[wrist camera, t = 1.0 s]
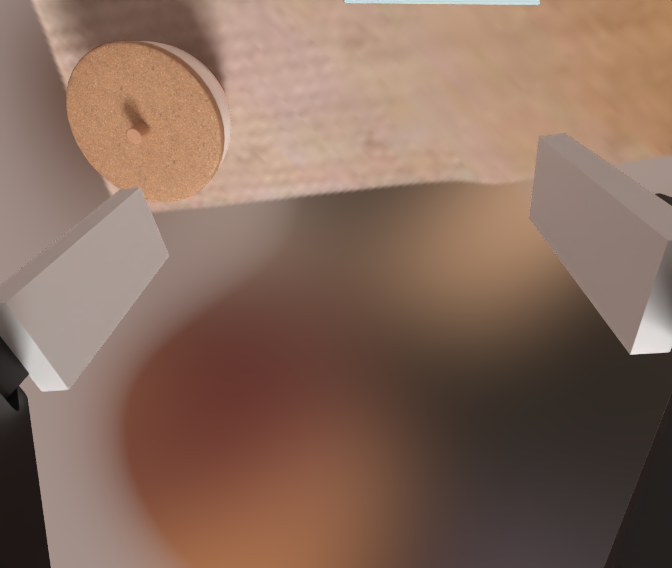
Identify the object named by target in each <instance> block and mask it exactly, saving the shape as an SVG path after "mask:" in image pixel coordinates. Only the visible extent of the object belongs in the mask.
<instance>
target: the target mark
mask: <svg viewBox="0 0 672 568" xmlns="http://www.w3.org/2000/svg"><path fill="white" fill-rule="evenodd" d="M345 3H405V4H512V5H539V3H540V0H345Z"/></svg>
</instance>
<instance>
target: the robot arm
mask: <svg viewBox="0 0 672 568" xmlns="http://www.w3.org/2000/svg"><path fill="white" fill-rule="evenodd" d="M529 219H530V220H531V221H532V223H533V224H534V226H535V227H536V228H537V230H538V231H539V232H540V234H541V235H542V236H543V238H544V239H545V240H546V242H547V243H548V244H549V246H550V247H551V248H552V250H553V251H554V253H556V255H557V257H558V258H559V259H560V261H561V262H562V263H563V265H564V266H565V267H566V269H567V270H568V271H569V273H570V274H571V275H572V277H573V278H574V279H575V281H576V282H577V283H578V285H579V286H580V288H581V289H582V290H583V292H584V293H585V294H586V296H587V297H588V298H589V300H590V301H591V302H592V304H593V305H594V306H595V308H596V309H597V310H598V312H599V313H600V314H601V316H602V317H603V319H604V320H605V321H606V323H607V324H608V325H609V327H610V328H611V329H612V330H613V332H614V333H615V335H616V336H617V337H618V339H619V340H620V341H621V343H622V344H623V345H624V347H625V348H626V349H627V351H628V352H629V354H646V353H663V352H670V349H671V347H672V197H669V196H666V195H663V194H653V193H652V192H650V191H649V190H647V189H646V188H645V187H643V186H642V185H640V184H639V183H637V182H636V181H634V180H633V179H631V178H630V177H629V176H627V175H626V174H624V173H623V172H621V171H620V170H618V169H617V168H615V167H614V166H613V165H611V164H610V163H608V162H607V161H605V160H604V159H602V158H601V157H599V156H598V155H596V154H595V153H593V152H592V151H591V150H589V149H588V148H586V147H585V146H583V145H582V144H580V143H579V142H577V141H576V140H574V139H573V138H572V137H570V136H569V135H567V134H566V133H564V134H556V135H549V136H541V137H539V141H538V149H537V158H536V166H535V174H534V183H533V191H532V199H531V207H530V216H529ZM168 257H169V254H168V251H167V249H166V247H165V244H164V242H163V239H162V237H161V235H160V232H159V230H158V228H157V226H156V223H155V221H154V218H153V216H152V213H151V211H150V209H149V206H148V204H147V202H146V199H145V197H144V194H143V192H142V190H141V187H137V188H130V189H122V190H119V191H118V192H116V193H115V194H114V195H113V196H111V197H110V198H109V199H108V200H106V201H105V202H104V203H103V204H102V205H100V206H99V207H98V208H96V209H95V210H94V211H93V212H92V213H90V214H89V215H88V216H86V217H85V218H84V219H83V220H81V221H80V222H79V223H78V224H76V225H75V226H74V227H72V228H71V229H70V230H69V231H68V232H67V233H65V234H64V235H63V236H61V237H60V238H59V239H57V240H56V241H55V242H54V243H53V244H51V245H50V246H49V247H47V248H46V249H45V250H44V251H42V252H41V253H40V254H39V255H37V256H36V257H35V258H34V259H32V260H31V261H30V262H29V263H27V264H26V265H25V266H24V267H22V268H21V269H20V270H18V271H17V272H16V273H15V274H14V275H12V276H11V277H10V278H8V279H7V280H6V281H5V282H3V283H2V284H1V285H0V568H51V566H50V559H49V552H48V545H47V537H46V530H45V523H44V515H43V508H42V500H41V494H40V486H39V478H38V472H37V464H36V457H35V449H34V442H33V435H32V428H31V420H30V413H29V406H28V398H27V396H26V394H25V393H24V391H23V390H22V389H21V388H20V386H19V385H20V384H21V383H22V381H23V380H24V379H25V378H26V377H27V376H28V375H29V376H30V377H31V378H32V380H33V381H34V382H35V384H36V385H37V386H38V387H39V389H40V390H41V391H57V390H69V389H70V388H71V387H72V385H73V384H74V383H75V381H76V380H77V378H78V377H79V376H80V375H81V373H82V372H83V370H84V369H85V368H86V366H87V365H88V364H89V362H90V361H91V360H92V358H93V357H94V356H95V354H96V353H97V352H98V350H99V349H100V348H101V346H102V345H103V344H104V342H105V341H106V340H107V338H108V337H109V336H110V334H111V333H112V332H113V330H114V329H115V327H116V326H117V325H118V324H119V322H120V321H121V320H122V318H123V317H124V316H125V314H126V313H127V312H128V310H129V309H130V308H131V306H132V305H133V304H134V302H135V301H136V299H137V298H138V297H139V295H140V294H141V293H142V291H143V290H144V289H145V287H146V286H147V285H148V284H149V282H150V281H151V279H152V278H153V277H154V276H155V274H156V273H157V271H158V270H159V269H160V267H161V266H162V265H163V263H164V262H165V261H166V259H167V258H168ZM604 568H672V393H671V396H670V398H669V401H668V403H667V406H666V409H665V411H664V414H663V417H662V419H661V422H660V424H659V427H658V429H657V432H656V434H655V437H654V440H653V442H652V445H651V447H650V450H649V452H648V455H647V458H646V460H645V463H644V465H643V468H642V470H641V473H640V476H639V478H638V481H637V483H636V486H635V489H634V491H633V494H632V496H631V499H630V501H629V504H628V506H627V509H626V512H625V514H624V517H623V519H622V522H621V525H620V527H619V530H618V532H617V535H616V537H615V540H614V543H613V545H612V548H611V550H610V553H609V555H608V558H607V561H606V564H605V566H604Z"/></svg>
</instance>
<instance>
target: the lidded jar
mask: <svg viewBox="0 0 672 568" xmlns="http://www.w3.org/2000/svg"><path fill="white" fill-rule="evenodd" d="M66 108H67V115H68V120H69V123H70V127H71V130H72V133H73V135H74V138H75V140H76V142H77V144H78V146H79V148H80V149H81V151H82V152H83V154H84V156H85V157H86V158H87V160H88V161H89V162H90V164H91V165H92V166H93V167H94V168H95V169H96V170H97V171H98V172H99V173H100V174H101V175H102V176H103V177H104V178H106V179H107V180H108V181H109V182H110V183H112V184H113V185H115V186H117V187H118V188H120V189H121V190H122V189H130V188H137V187H141V190H142V192H143V194H144V197H145V199H147V200H151V201H161V202H168V201H177V200H181V199H185V198H187V197H189V196H191V195H194V194H195V193H197V192H198V191H199V190H201V189H202V188H203V187H204V186H205V185H206V184H207V183H208V182H209V181H210V180H211V179H212V177H213V176H214V174H215V173H216V171H217V169H218V167H219V166H220V164H221V163H222V161H223V160H224V157H225V155H226V152H227V150H228V148H229V144H230V140H231V131H232V118H231V111H230V107H229V103H228V100H227V98H226V95H225V93H224V91H223V89H222V87H221V85H220V83H219V82H218V80H217V79H216V78H215V76H214V75H213V74H212V73H211V71H210V70H209V69H208V68H207V67H206V66H205V65H204V64H203V63H201V62H200V61H199V60H198V59H196V58H195V57H193V56H192V55H190V54H188V53H187V52H185V51H183V50H181V49H178V48H176V47H174V46H171V45H167V44H163V43H159V42H153V41H129V40H124V41H116V42H109V43H106V44H104V45H101V46H98V47H96V48H94V49H93V50H91V51H89V52H88V53H87V54H86V55H85V56H84V57H83V58H82V59H81V60H80V61H79V62H78V63H77V65H76V66H75V68H74V70H73V72H72V74H71V77H70V79H69V82H68V87H67V93H66Z"/></svg>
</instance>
